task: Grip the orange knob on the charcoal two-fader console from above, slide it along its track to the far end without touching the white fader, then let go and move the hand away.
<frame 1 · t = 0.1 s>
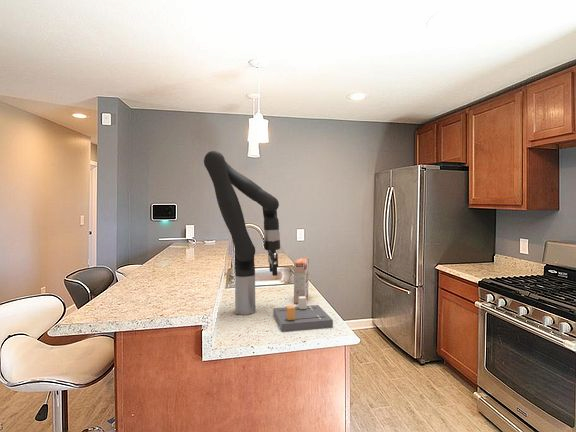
hand: (273, 273, 151), 17 cm above the countertop, tool pointing down, fingers open, 8 cm apart
white fader: (302, 302, 143), point 6 cm above the countertop, slide at 2.0 cm
cracker box: (301, 300, 167), on the countertop
mixer console: (301, 320, 137), on the countertop
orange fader: (290, 312, 130), point 6 cm above the countertop, slide at -6.0 cm
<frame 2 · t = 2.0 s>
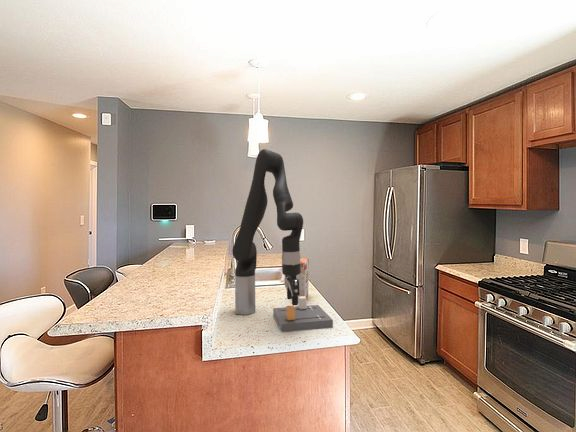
hand: (292, 302, 130), 10 cm above the countertop, tool pointing down, fingers open, 8 cm apart
nothing on the countertop moved.
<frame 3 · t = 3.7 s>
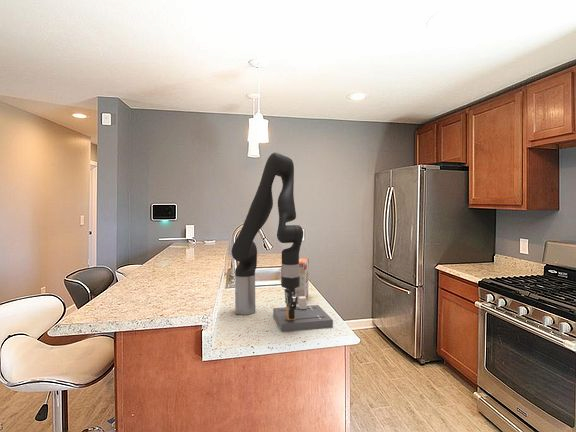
hand: (290, 316, 130), 4 cm above the countertop, tool pointing down, fingers closed on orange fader, 3 cm apart
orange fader: (290, 312, 130), point 6 cm above the countertop, slide at -6.0 cm, touching gripper
everything else where it was.
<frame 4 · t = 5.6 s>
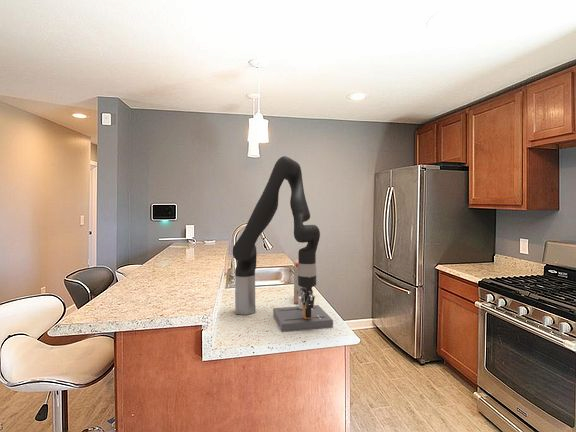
hand: (307, 315, 131), 4 cm above the countertop, tool pointing down, fingers closed on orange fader, 3 cm apart
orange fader: (307, 311, 131), point 6 cm above the countertop, slide at 0.9 cm, touching gripper
everything else where it was.
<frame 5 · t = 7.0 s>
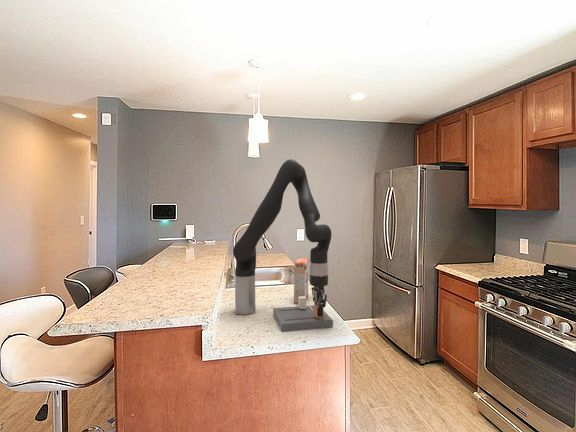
hand: (318, 314, 132), 4 cm above the countertop, tool pointing down, fingers closed on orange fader, 3 cm apart
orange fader: (318, 310, 132), point 6 cm above the countertop, slide at 5.9 cm, touching gripper
everything else where it was.
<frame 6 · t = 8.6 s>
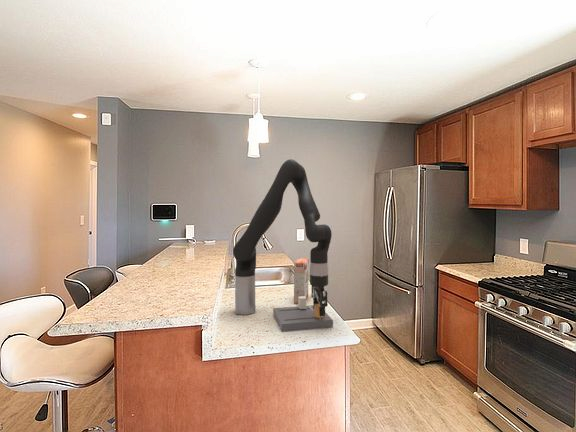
hand: (319, 312, 132), 5 cm above the countertop, tool pointing down, fingers open, 8 cm apart
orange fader: (318, 310, 132), point 6 cm above the countertop, slide at 5.9 cm
everything else where it was.
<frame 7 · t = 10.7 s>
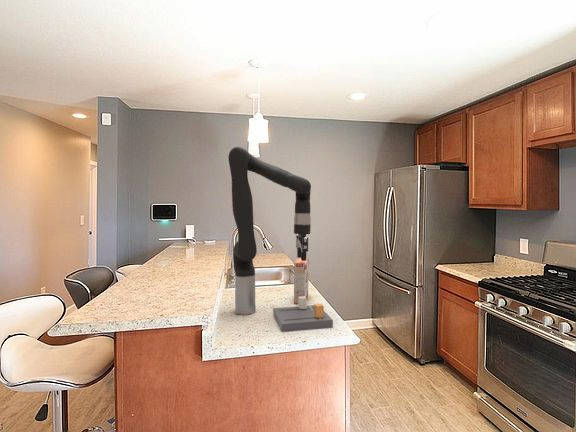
hand: (301, 259, 146), 25 cm above the countertop, tool pointing down, fingers open, 8 cm apart
nothing on the countertop moved.
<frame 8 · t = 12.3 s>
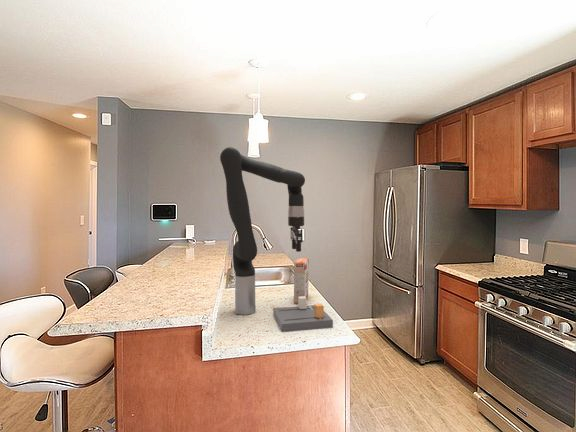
hand: (296, 250, 151), 28 cm above the countertop, tool pointing down, fingers open, 8 cm apart
nothing on the countertop moved.
at the end: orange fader slide at 5.9 cm; white fader slide at 2.0 cm; the gripper is holding nothing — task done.
